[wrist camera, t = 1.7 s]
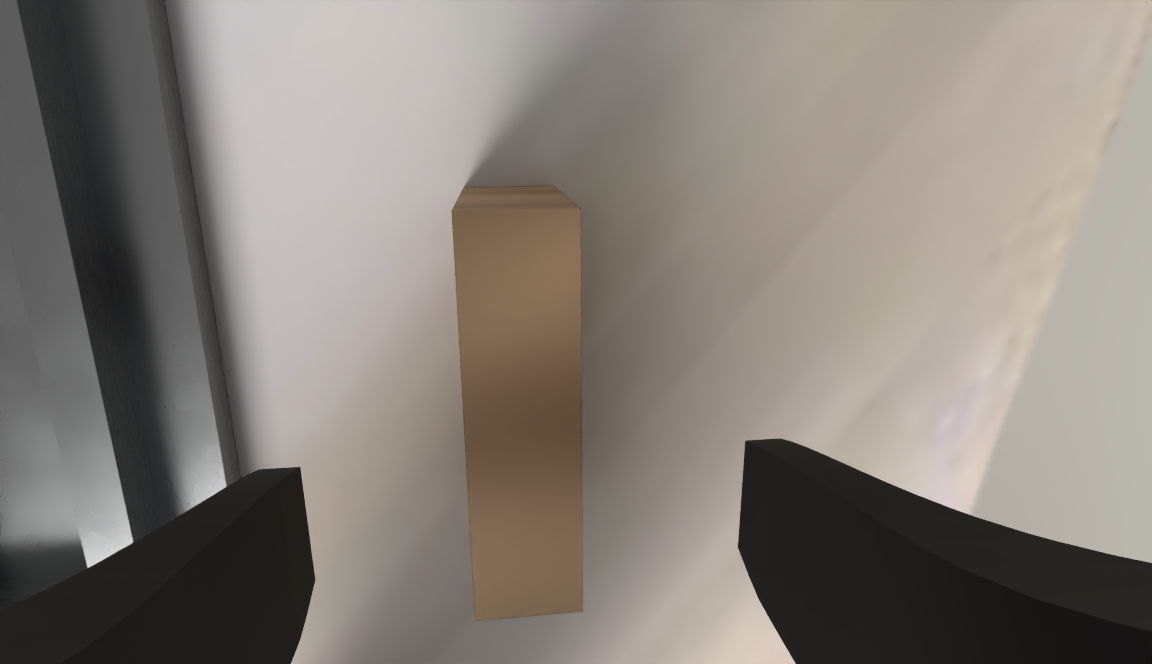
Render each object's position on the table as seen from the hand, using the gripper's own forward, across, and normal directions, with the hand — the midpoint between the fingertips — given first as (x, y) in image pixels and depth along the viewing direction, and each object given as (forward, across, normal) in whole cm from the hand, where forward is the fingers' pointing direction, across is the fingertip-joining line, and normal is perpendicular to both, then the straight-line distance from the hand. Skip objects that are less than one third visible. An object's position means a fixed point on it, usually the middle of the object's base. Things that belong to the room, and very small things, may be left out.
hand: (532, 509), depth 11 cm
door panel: (+9, 0, 0) cm, 9 cm away
